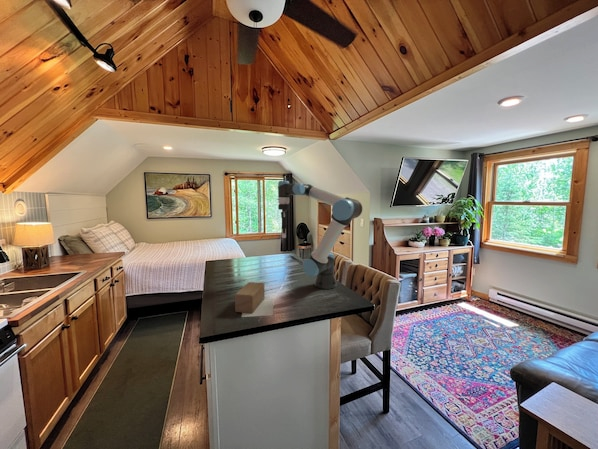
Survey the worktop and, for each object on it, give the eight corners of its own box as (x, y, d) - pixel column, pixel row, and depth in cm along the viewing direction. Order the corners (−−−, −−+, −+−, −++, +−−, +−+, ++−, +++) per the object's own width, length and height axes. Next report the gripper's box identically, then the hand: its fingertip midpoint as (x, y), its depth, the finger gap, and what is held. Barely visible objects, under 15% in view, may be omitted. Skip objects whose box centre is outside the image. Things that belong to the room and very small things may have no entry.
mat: (273, 299, 148) (273, 298, 148) (273, 315, 127) (273, 314, 127) (245, 300, 146) (245, 299, 146) (241, 317, 125) (241, 316, 125)
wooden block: (265, 298, 147) (252, 314, 128) (249, 297, 149) (234, 312, 130) (264, 282, 147) (252, 295, 127) (248, 281, 148) (234, 293, 129)
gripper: (278, 203, 177) (278, 236, 180) (278, 203, 164) (278, 239, 167) (288, 203, 178) (288, 236, 180) (289, 203, 165) (290, 239, 168)
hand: (284, 237), depth 174 cm, fingers closed
